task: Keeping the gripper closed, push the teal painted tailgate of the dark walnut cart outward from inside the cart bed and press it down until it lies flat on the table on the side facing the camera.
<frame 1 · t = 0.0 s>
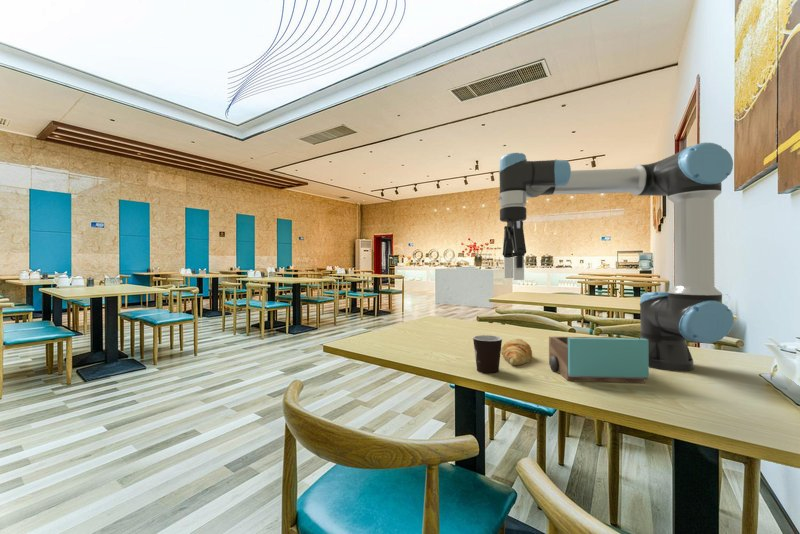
hand: (513, 279, 103), 28 cm above the table, fingers open, 13 cm apart
coffee mug: (489, 370, 108), on the table
cart: (592, 372, 103), on the table
croissant: (516, 360, 119), on the table
tailgate: (607, 358, 94), point 7 cm above the table, hinge at 0.0°
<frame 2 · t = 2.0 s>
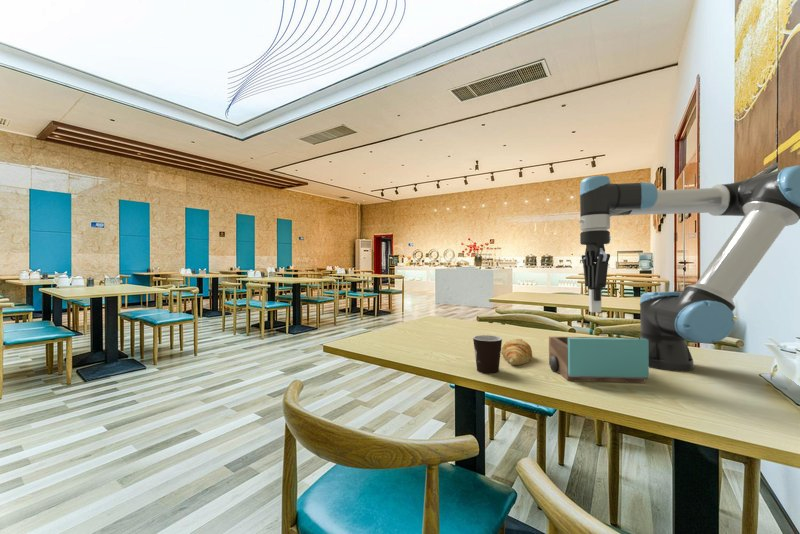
hand: (595, 311, 101), 18 cm above the table, fingers closed
nothing on the table moved.
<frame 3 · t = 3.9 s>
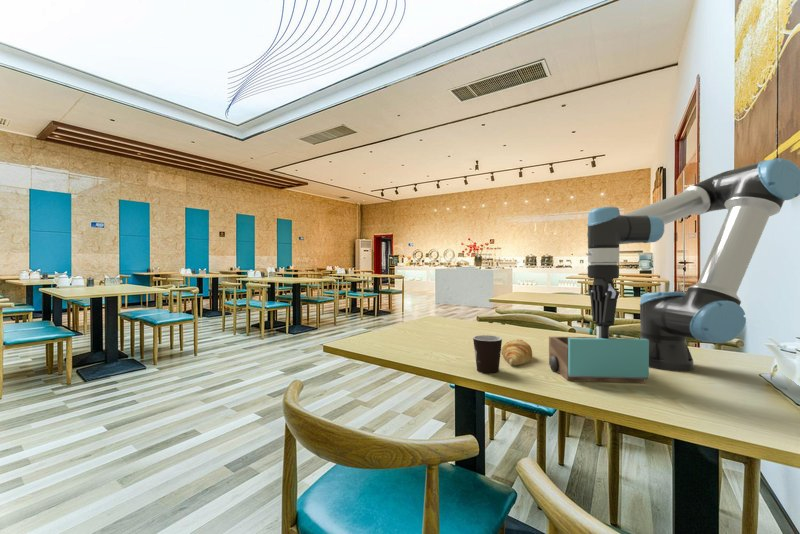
hand: (602, 349, 96), 9 cm above the table, fingers closed
tailgate: (607, 358, 94), point 7 cm above the table, hinge at 1.6°, touching gripper
everything else where it was.
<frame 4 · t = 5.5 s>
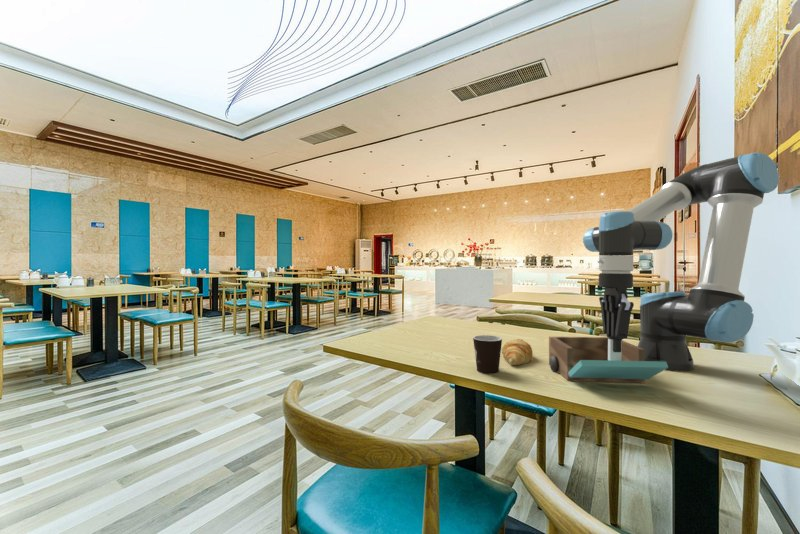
hand: (614, 363, 90), 6 cm above the table, fingers closed
tailgate: (614, 370, 90), point 5 cm above the table, hinge at 56.3°, touching gripper
everything else where it was.
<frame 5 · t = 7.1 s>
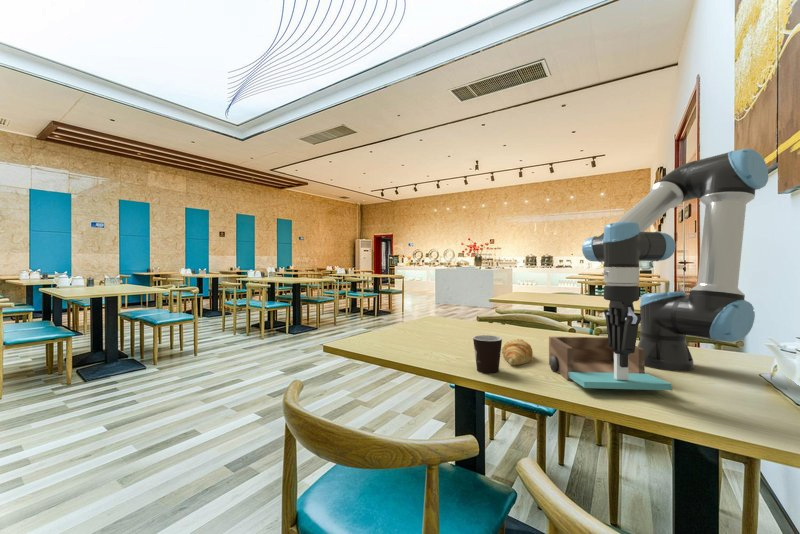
hand: (621, 378, 87), 3 cm above the table, fingers closed
tailgate: (616, 380, 90), point 2 cm above the table, hinge at 86.4°, touching gripper
everything else where it was.
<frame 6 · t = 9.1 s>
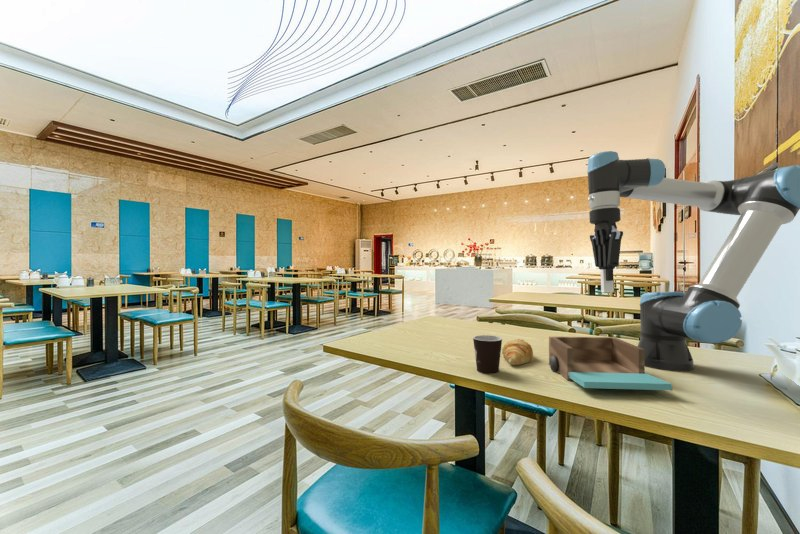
hand: (607, 292, 98), 24 cm above the table, fingers closed
tailgate: (616, 380, 90), point 2 cm above the table, hinge at 86.4°
everything else where it was.
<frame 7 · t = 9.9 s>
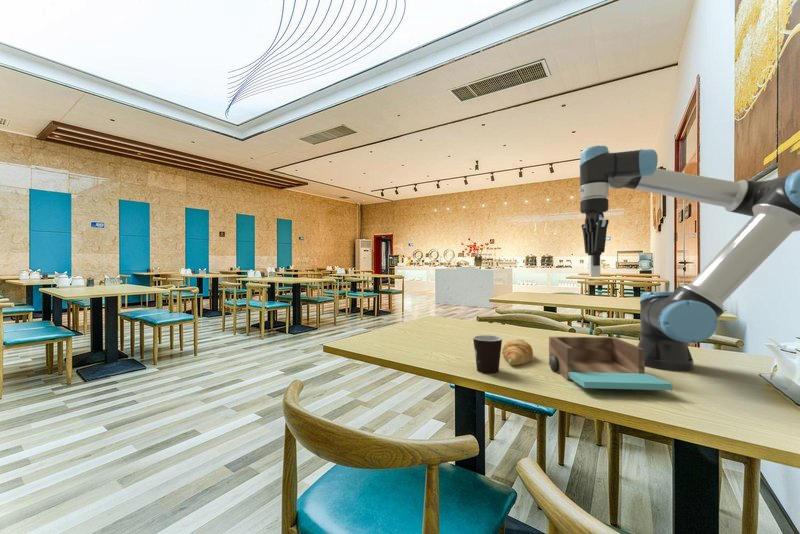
hand: (594, 276, 106), 28 cm above the table, fingers closed
nothing on the table moved.
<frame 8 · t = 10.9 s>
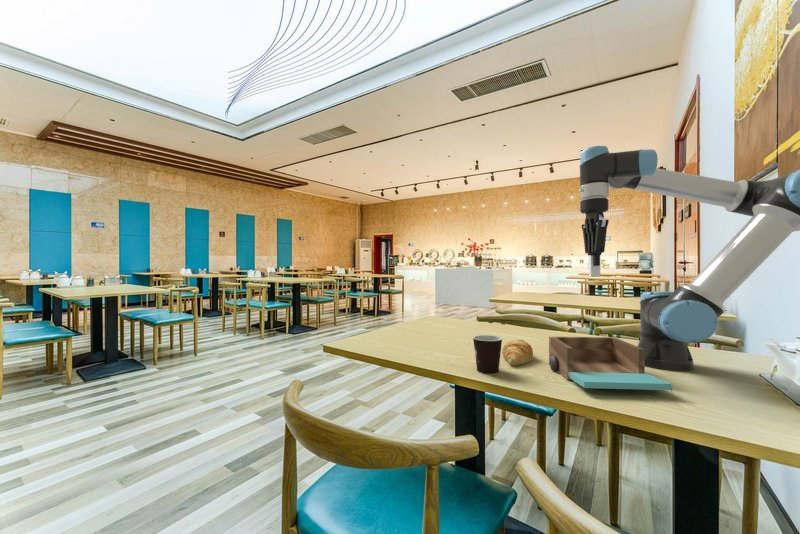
hand: (594, 276, 106), 28 cm above the table, fingers closed
nothing on the table moved.
at the end: tailgate at +86° (first picture: +0°); croissant moved 0.7 cm from its start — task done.
